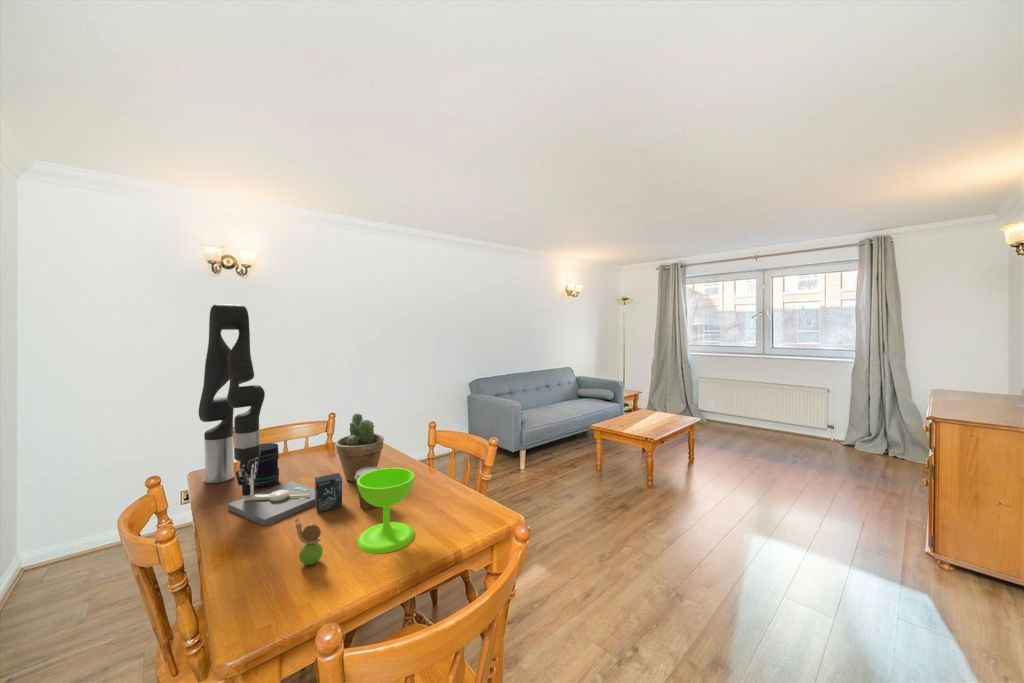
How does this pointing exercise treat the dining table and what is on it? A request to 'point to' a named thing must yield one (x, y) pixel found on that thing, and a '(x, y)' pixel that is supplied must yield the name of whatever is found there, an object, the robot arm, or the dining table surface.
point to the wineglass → (385, 508)
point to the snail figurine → (309, 543)
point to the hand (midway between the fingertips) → (248, 492)
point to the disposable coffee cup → (362, 502)
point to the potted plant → (359, 447)
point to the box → (328, 492)
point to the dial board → (274, 504)
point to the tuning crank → (273, 496)
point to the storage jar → (267, 467)
